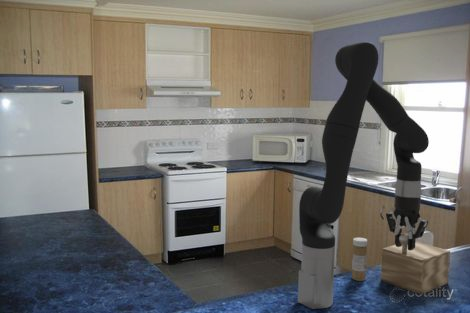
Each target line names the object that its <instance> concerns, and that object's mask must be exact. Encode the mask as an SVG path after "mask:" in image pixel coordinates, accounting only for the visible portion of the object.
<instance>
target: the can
mask: <svg viewBox="0 0 470 313" xmlns="http://www.w3.org/2000/svg"><path fill="white" fill-rule="evenodd" d="M416 231H417V230H416ZM434 238H435V237H434V233H433V230H431V229H427V228H426V229H425V231H424V233H423V236H422V237H419V238H416V242H419V243H422V244H426V245H430V246H434Z"/></svg>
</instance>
